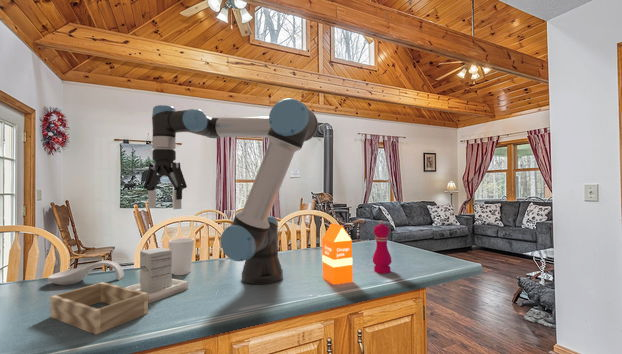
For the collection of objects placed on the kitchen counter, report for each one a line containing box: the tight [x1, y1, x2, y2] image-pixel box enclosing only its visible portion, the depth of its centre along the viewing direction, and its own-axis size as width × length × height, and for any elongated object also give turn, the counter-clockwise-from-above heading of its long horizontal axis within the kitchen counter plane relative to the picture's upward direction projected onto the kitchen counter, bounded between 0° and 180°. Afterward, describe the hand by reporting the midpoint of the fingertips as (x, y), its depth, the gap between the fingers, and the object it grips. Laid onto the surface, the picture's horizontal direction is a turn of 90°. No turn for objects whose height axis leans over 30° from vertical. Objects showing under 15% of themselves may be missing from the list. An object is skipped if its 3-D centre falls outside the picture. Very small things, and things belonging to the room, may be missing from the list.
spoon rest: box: [47, 259, 125, 286], centre depth 112 cm, size 24×12×7 cm, turn 102°
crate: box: [49, 281, 149, 335], centre depth 82 cm, size 22×13×6 cm, turn 62°
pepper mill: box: [372, 220, 393, 274], centre depth 118 cm, size 7×7×20 cm
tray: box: [125, 278, 189, 305], centre depth 98 cm, size 14×14×2 cm
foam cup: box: [168, 237, 195, 276], centre depth 120 cm, size 10×9×13 cm
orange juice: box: [321, 222, 354, 286], centre depth 109 cm, size 8×9×20 cm
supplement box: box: [139, 246, 173, 294], centre depth 98 cm, size 7×7×13 cm
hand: (164, 208), depth 108 cm, fingers open, 13 cm apart
